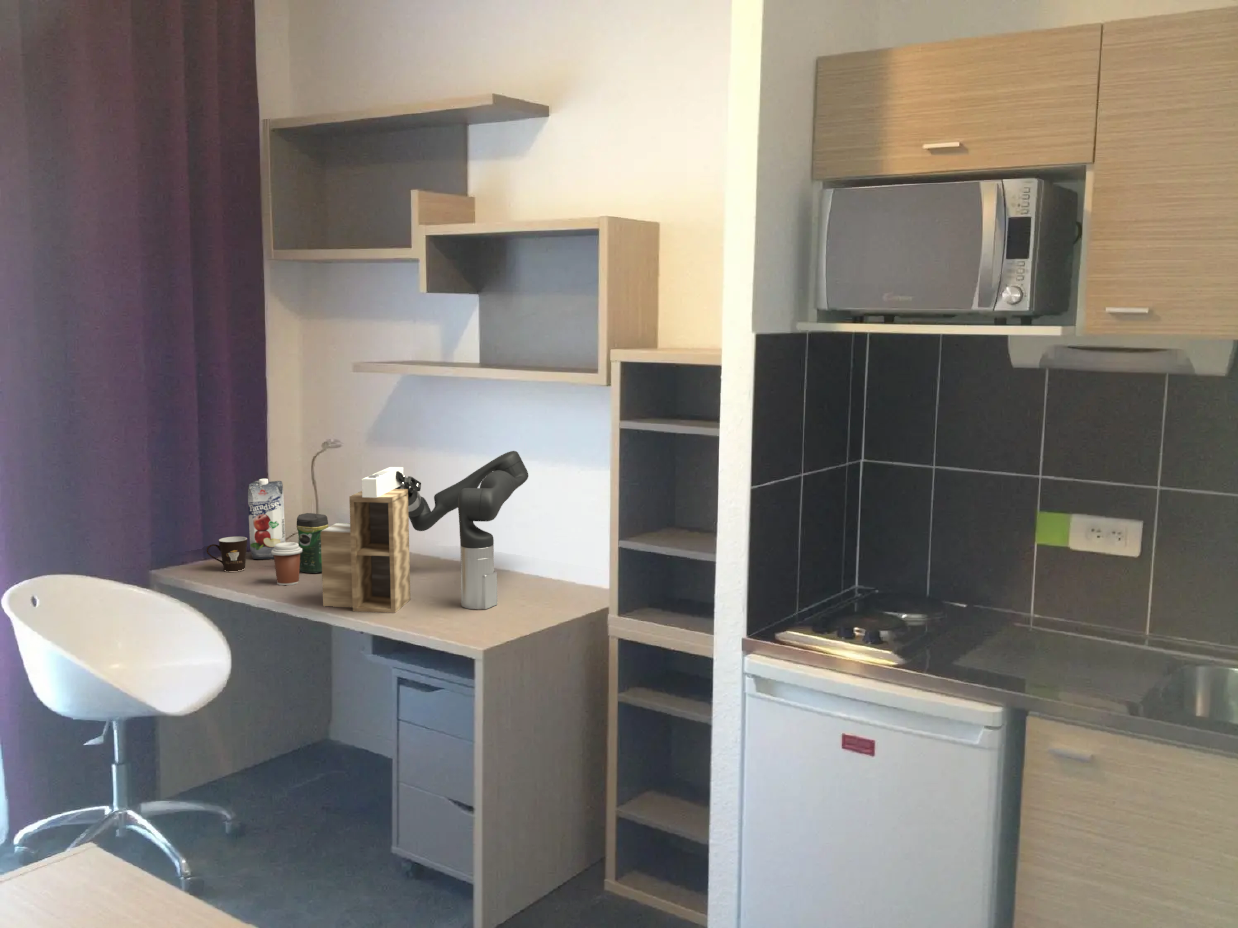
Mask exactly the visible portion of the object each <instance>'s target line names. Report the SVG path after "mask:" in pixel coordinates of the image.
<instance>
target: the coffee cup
mask: <svg viewBox="0 0 1238 928" xmlns="http://www.w3.org/2000/svg"><path fill="white" fill-rule="evenodd" d="M300 553H302V548H300V547H299V542H293V541H292V542H291V541H285V542H284V543H278V544H275V548H274V549H273V550H272V551H271V554H273V555H274V560H273V562H274V567H275V568H274V569H275V575H276V576H275V577H276V584H277V585H278V584H279V585H278V586H281V585H289V586H295V585H297V583H298V584H299V583H300V571H299V568H300ZM294 584H295V585H294Z"/></svg>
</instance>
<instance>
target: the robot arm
mask: <svg viewBox="0 0 1238 928" xmlns="http://www.w3.org/2000/svg"><path fill="white" fill-rule="evenodd" d="M396 479H397V481H398V482H399V483H400V485H401V486H399V487H397V488H395V489H408V516H409V521H410V522H411V525H412V528H413V529H414V530H415V531H417V532H425V531H427V530H429V529H431V528H432V527H433V526H435V524H436V523H438V521H439V520H441V519H442V518H443V517H445V516H446V515H447V514H448V513H451V511H454V510H456V509H458V522H459V524H458V525H459V540H460V541H459V542H460V548H459V549H460V598H461V599H460V600H461V601H460V604H461V607H462V608H464V609H469V610H488V609H489V608H492V607H494V606H496V605H498V572H497V571H496V570H495V558H494V557H495V556H494V552H495V550H494V549H495V548H494V544H495V543H494V541H495V540H494V536H493V534H492V533H490V532H488V531H485V530H483V529H481V528H480V527H478V526H477V525H475V523H474V522H492V521H493V520H495V519H496V518H497V516H498V514H499V512H500V511H501V509H502V506H503V505H504V504H505V502H506V501H507V500H508V499H509V498H510V497H511V496H512V494H513V493H514V492H515V491H516V490H517V489H518V488H519V487H521V486H522V485H524V483H525V482H527V480H528V479H529V471H528V470H527V468H526V465H525V464H524V462H523V460H522V458H521V455H520V454H519V452H518V451H516V450H510V451H507V452H505V453H502V454H501V455H499V456H497V457H495V458H494V459H493V460H491V461H489V462H487V463H486V464H484V465H482V466H481V467H480V468H477V469H476V470H475V471H474V472H472V473H470V474H469V475H468V476H466V477H465V478H463V479H461V480H460V481H458V482H456V483H455V484H452V485H451V486H448V487H446V488H445V489H442V490H440V491H438V492H437V493H435V494H434V496H433V501H434V508H433V509H432V510H431V508H430V506H429V504H428V502H427V500H426V498H425V497H423V496H421V495H420V491H421V488H422V482H421V481H419V480H418V479H416V478H414V477H413V476H411V475H410V476H409V475H408V476H407V477H406V475H404V473H403V474H402V473H400V472H399V471H396Z"/></svg>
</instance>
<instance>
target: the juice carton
mask: <svg viewBox="0 0 1238 928" xmlns="http://www.w3.org/2000/svg"><path fill="white" fill-rule="evenodd" d="M283 485H284V484H283V481H282V480H271V481H269V479H268V478H260V479H258V480H254V481H253V482H250V483H249V484H248V485H247V506H248V508H247V509H248V525H249V526H248V527H249V532H248V533H249V548H250V553H251V557H252V560H254V559H274V555H273V554H271V551H272V550H273V549H274V548H275V544H278V543H284V542H286V524H285V522H286V521H285V498H284V497H285V495H284V489H283V488H284V486H283Z"/></svg>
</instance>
